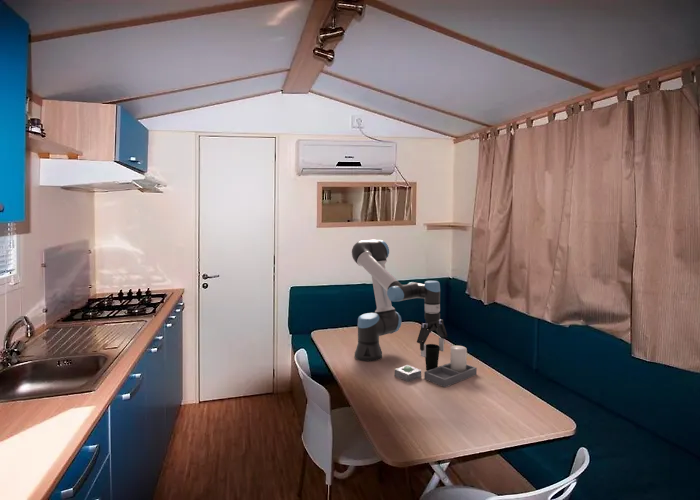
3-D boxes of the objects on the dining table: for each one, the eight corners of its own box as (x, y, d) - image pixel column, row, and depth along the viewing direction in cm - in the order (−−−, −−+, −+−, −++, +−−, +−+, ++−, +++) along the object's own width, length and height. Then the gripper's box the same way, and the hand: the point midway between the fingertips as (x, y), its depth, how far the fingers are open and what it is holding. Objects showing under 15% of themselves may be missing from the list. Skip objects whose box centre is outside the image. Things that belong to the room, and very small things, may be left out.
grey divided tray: (424, 378, 198) (424, 371, 197) (455, 367, 212) (456, 360, 212) (444, 387, 188) (444, 379, 188) (476, 374, 202) (476, 367, 202)
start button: (402, 374, 201) (402, 367, 200) (407, 372, 203) (407, 365, 203) (407, 376, 198) (407, 369, 197) (413, 375, 200) (413, 367, 200)
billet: (447, 371, 204) (447, 347, 203) (456, 367, 209) (457, 344, 208) (459, 376, 198) (460, 351, 197) (469, 372, 203) (470, 348, 202)
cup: (439, 372, 205) (439, 349, 204) (423, 371, 206) (424, 348, 205) (439, 367, 212) (439, 344, 211) (424, 366, 214) (424, 343, 213)
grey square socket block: (394, 376, 201) (394, 369, 201) (407, 371, 207) (407, 364, 206) (408, 381, 194) (408, 374, 194) (421, 377, 200) (421, 370, 199)
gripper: (420, 317, 196) (421, 361, 198) (454, 309, 211) (454, 350, 213) (409, 314, 202) (409, 357, 204) (442, 307, 217) (442, 346, 219)
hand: (432, 353), depth 208 cm, fingers open, 13 cm apart
